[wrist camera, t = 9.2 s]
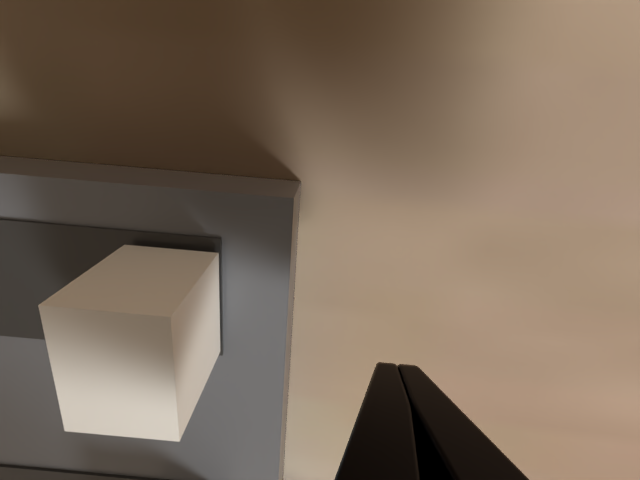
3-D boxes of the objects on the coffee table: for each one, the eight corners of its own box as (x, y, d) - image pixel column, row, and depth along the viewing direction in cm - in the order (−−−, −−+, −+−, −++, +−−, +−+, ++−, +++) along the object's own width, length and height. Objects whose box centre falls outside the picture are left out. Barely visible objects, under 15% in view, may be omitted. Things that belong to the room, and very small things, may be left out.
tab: (220, 351, 11) (179, 442, 8) (135, 343, 11) (64, 431, 8) (218, 252, 10) (170, 316, 7) (123, 244, 10) (37, 305, 7)
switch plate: (273, 639, 20) (266, 700, 18) (-33, 610, 20) (-73, 666, 18) (300, 181, 11) (293, 199, 9) (-234, 135, 11) (-352, 144, 9)
